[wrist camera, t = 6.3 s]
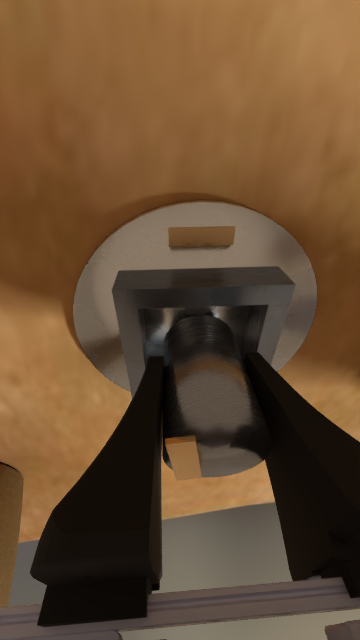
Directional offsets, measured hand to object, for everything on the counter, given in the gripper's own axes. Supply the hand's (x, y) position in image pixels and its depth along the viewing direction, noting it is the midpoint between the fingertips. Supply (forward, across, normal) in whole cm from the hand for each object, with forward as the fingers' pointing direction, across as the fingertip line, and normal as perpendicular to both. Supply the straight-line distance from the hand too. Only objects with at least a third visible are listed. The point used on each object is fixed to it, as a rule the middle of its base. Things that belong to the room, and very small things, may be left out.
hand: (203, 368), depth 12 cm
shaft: (+2, 0, 0) cm, 2 cm away
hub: (+4, 0, 0) cm, 4 cm away
